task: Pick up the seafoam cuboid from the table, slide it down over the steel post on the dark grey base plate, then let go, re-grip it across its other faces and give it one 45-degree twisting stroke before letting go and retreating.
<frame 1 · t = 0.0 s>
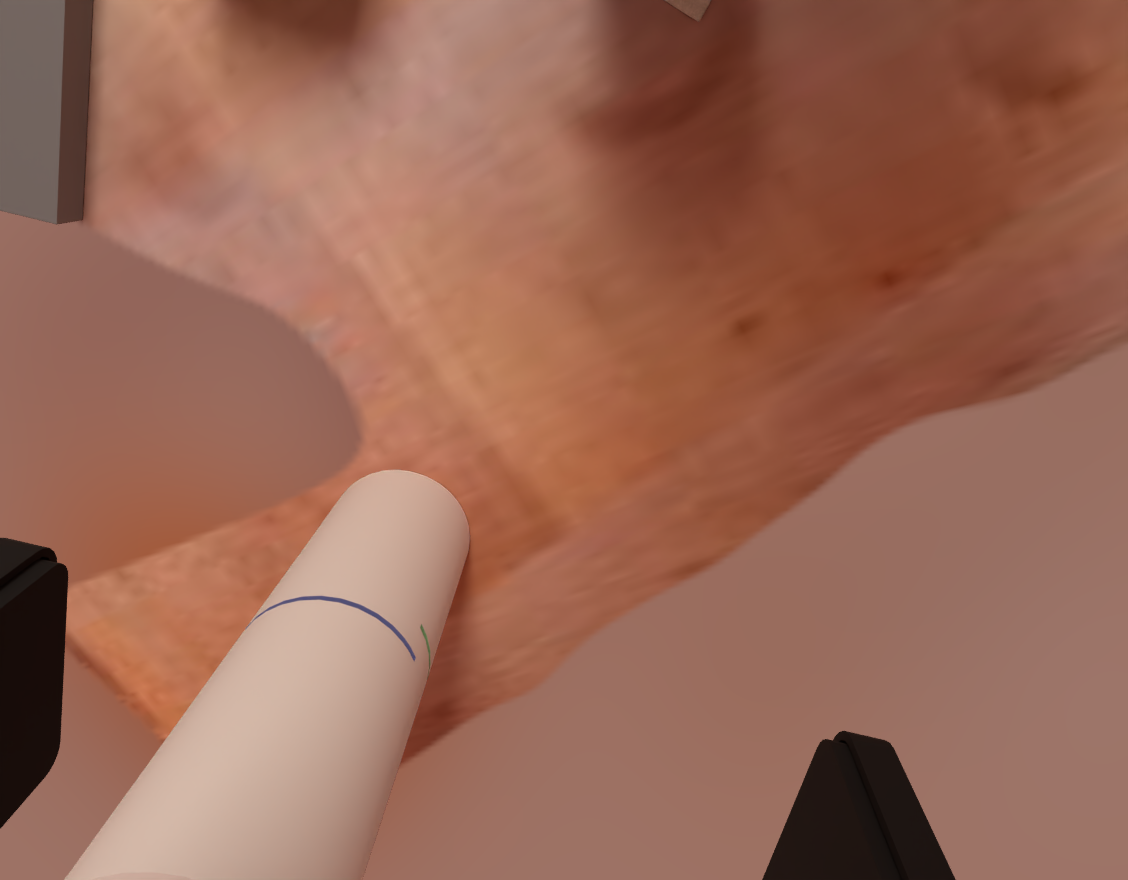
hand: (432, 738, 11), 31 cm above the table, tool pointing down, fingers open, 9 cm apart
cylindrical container: (401, 532, 45), on the table
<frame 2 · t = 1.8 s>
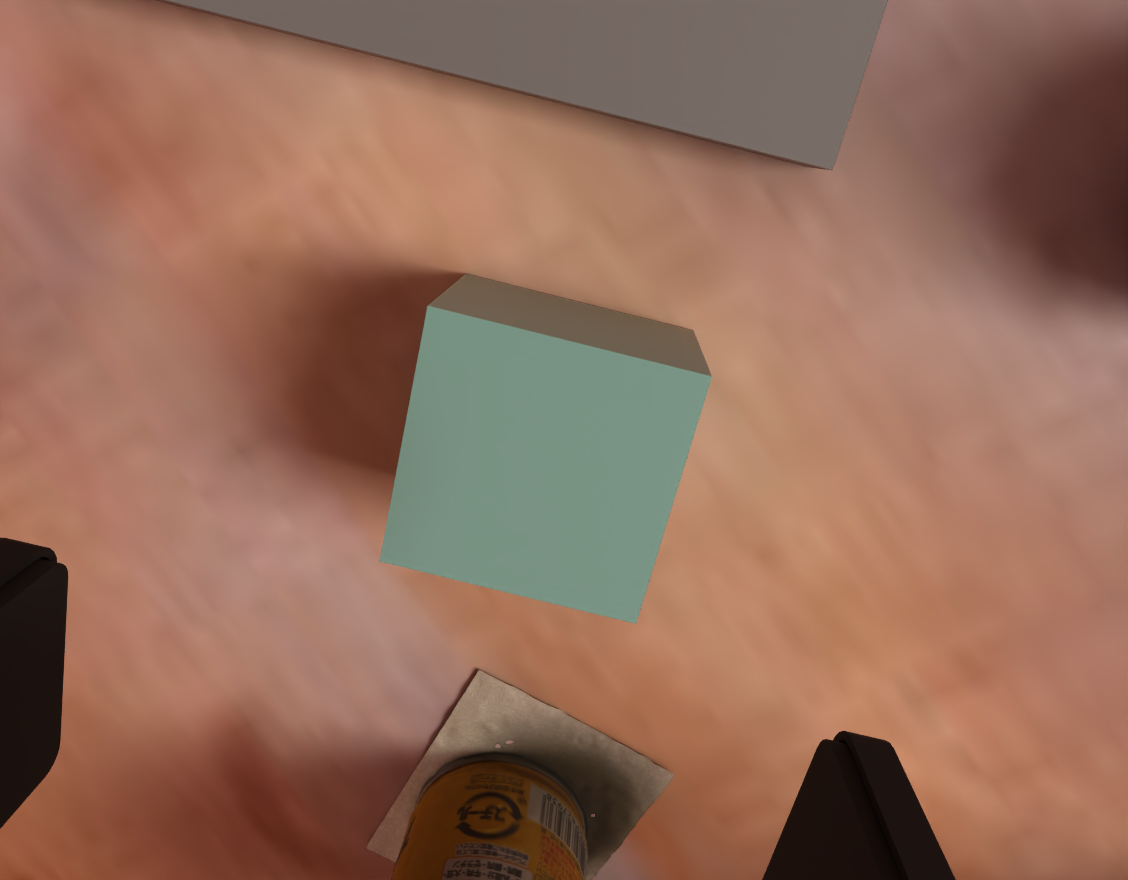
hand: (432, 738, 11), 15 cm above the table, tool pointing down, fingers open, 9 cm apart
seafoam cuboid: (553, 410, 25), on the table
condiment: (516, 802, 30), on the table
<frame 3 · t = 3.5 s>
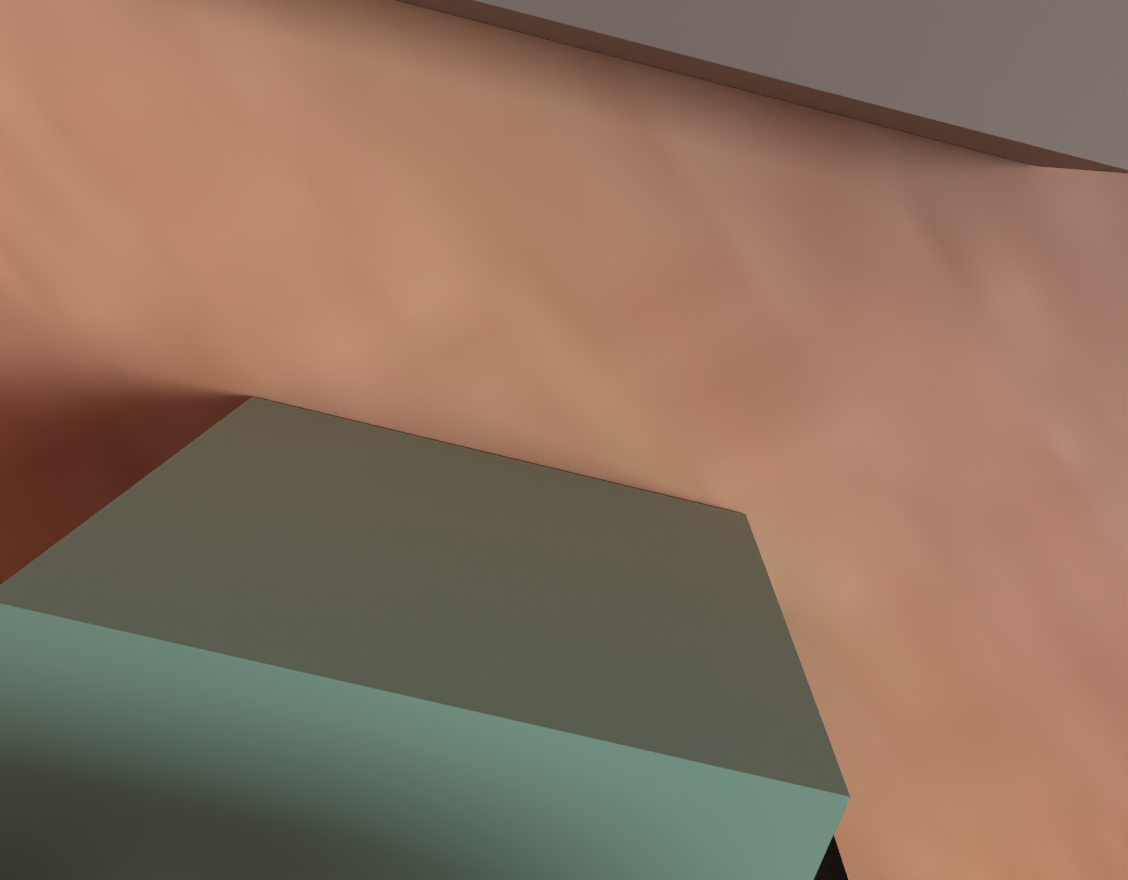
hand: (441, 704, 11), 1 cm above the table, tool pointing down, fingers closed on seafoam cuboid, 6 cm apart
seafoam cuboid: (453, 665, 12), on the table, touching gripper
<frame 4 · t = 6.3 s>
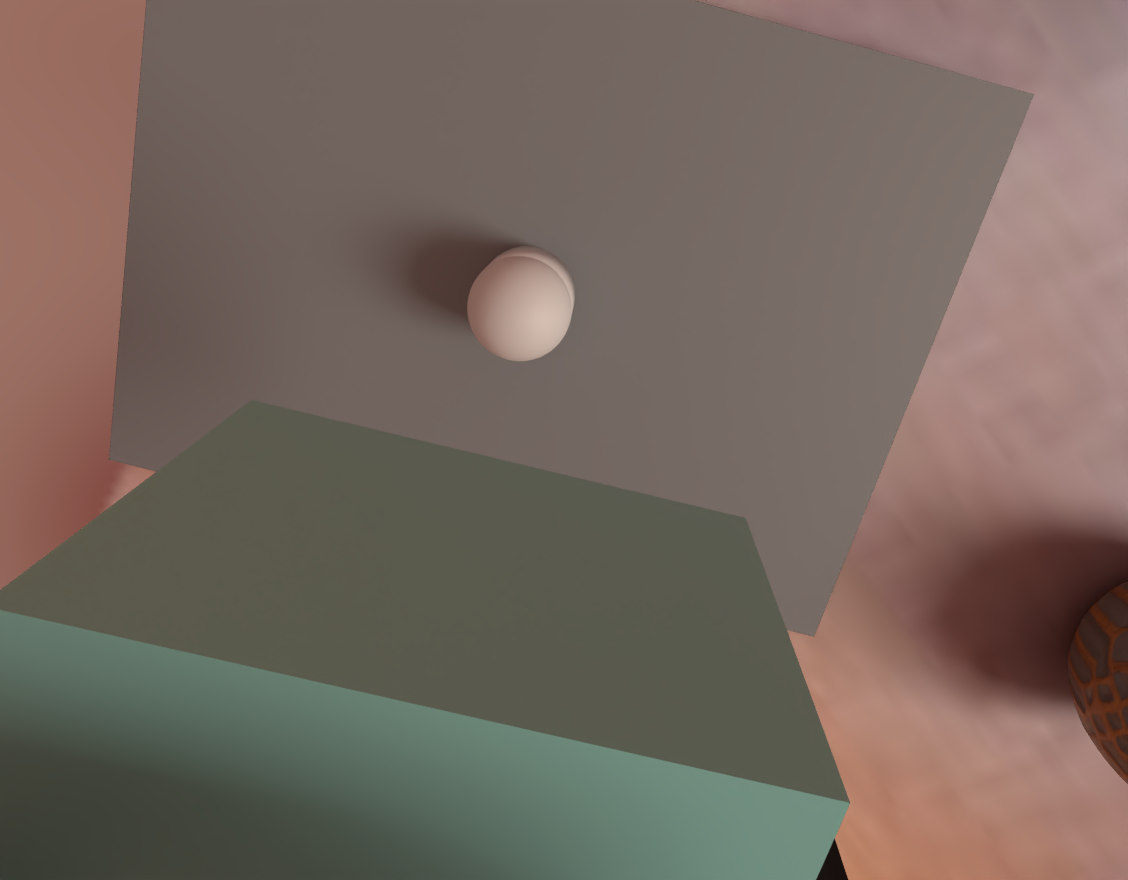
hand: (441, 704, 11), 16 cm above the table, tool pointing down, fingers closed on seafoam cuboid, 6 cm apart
seafoam cuboid: (453, 668, 12), point 15 cm above the table, touching gripper
post base: (533, 282, 26), on the table
when the fingers open (4 cm above the table, at t = 9.2 s): seafoam cuboid stays where it is, resting on post base.
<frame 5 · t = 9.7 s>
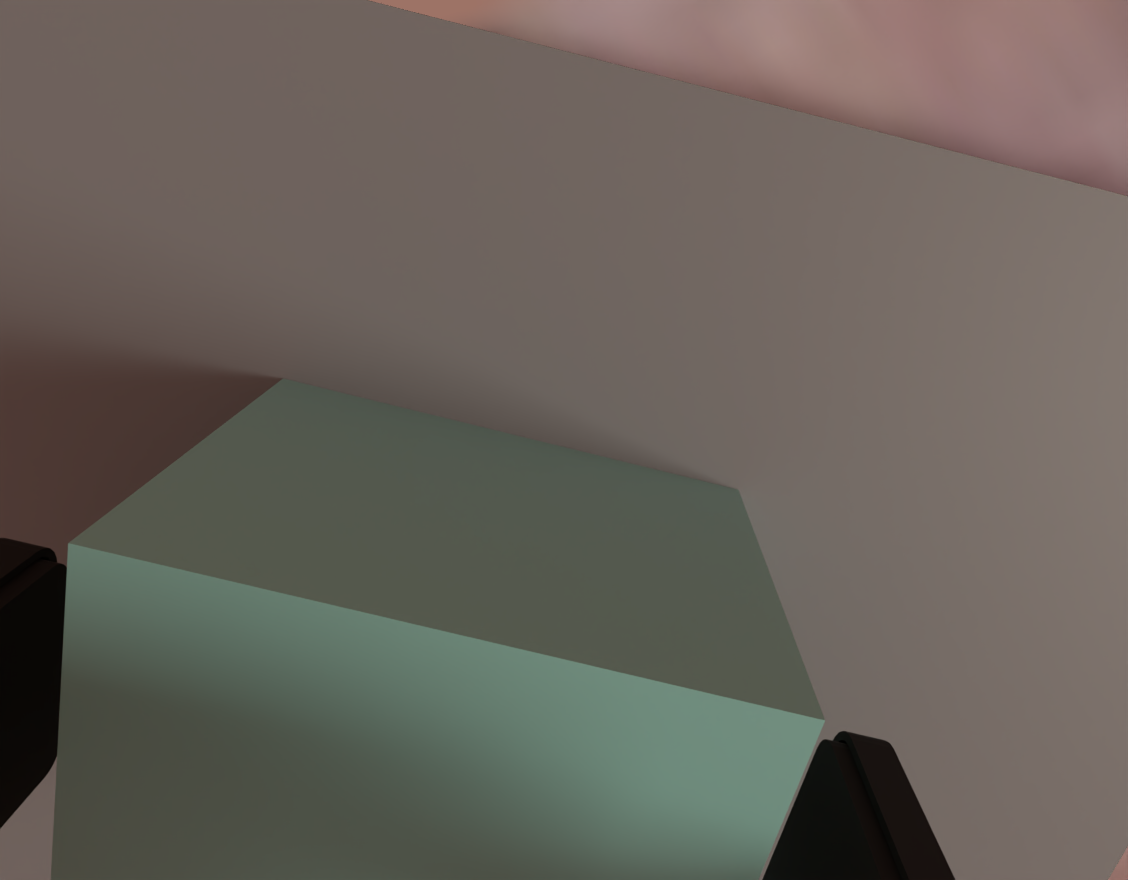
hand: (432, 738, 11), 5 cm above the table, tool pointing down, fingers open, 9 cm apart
seafoam cuboid: (466, 630, 13), point 2 cm above the table, touching post base
post base: (481, 565, 15), on the table
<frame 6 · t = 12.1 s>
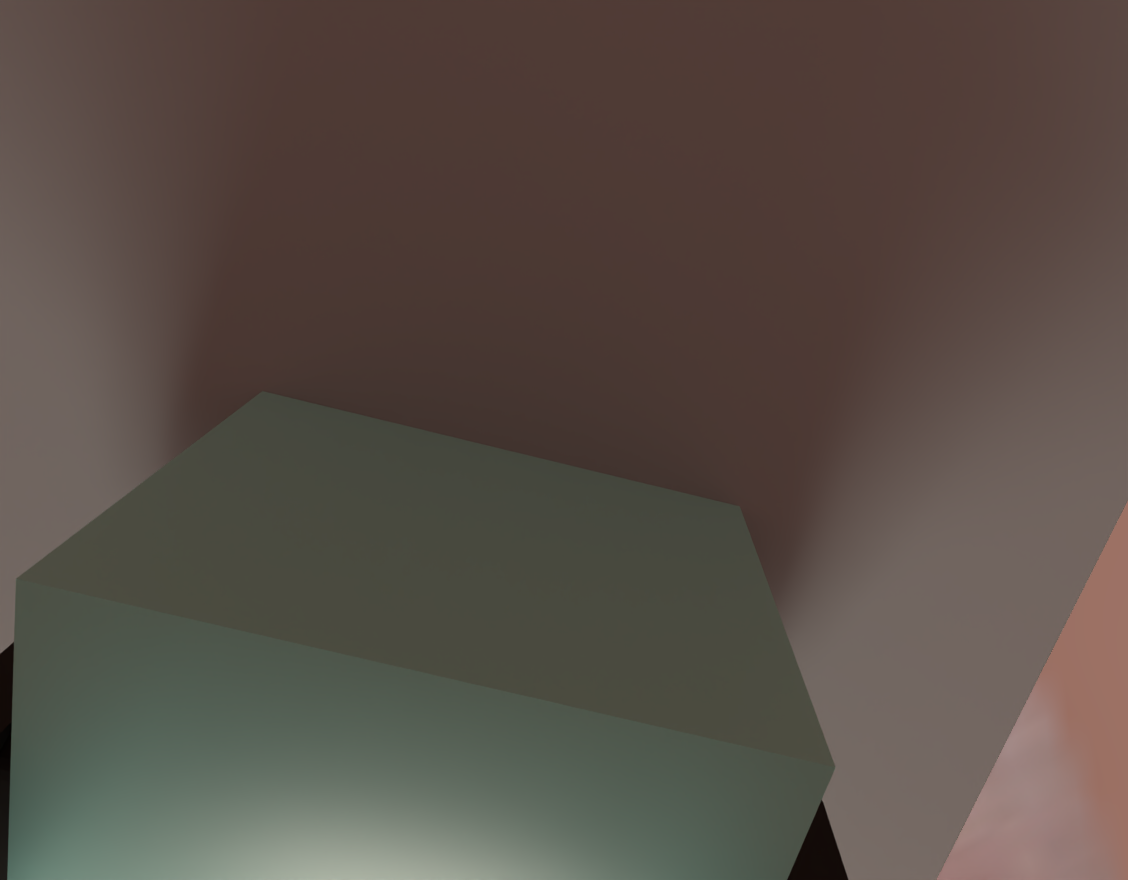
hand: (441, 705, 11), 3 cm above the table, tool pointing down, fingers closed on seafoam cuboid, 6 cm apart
seafoam cuboid: (456, 652, 12), point 2 cm above the table, touching gripper, post base
post base: (476, 581, 14), on the table
when the fingers open (3 cm above the table, at t = 13.3 s): seafoam cuboid stays where it is, resting on post base.
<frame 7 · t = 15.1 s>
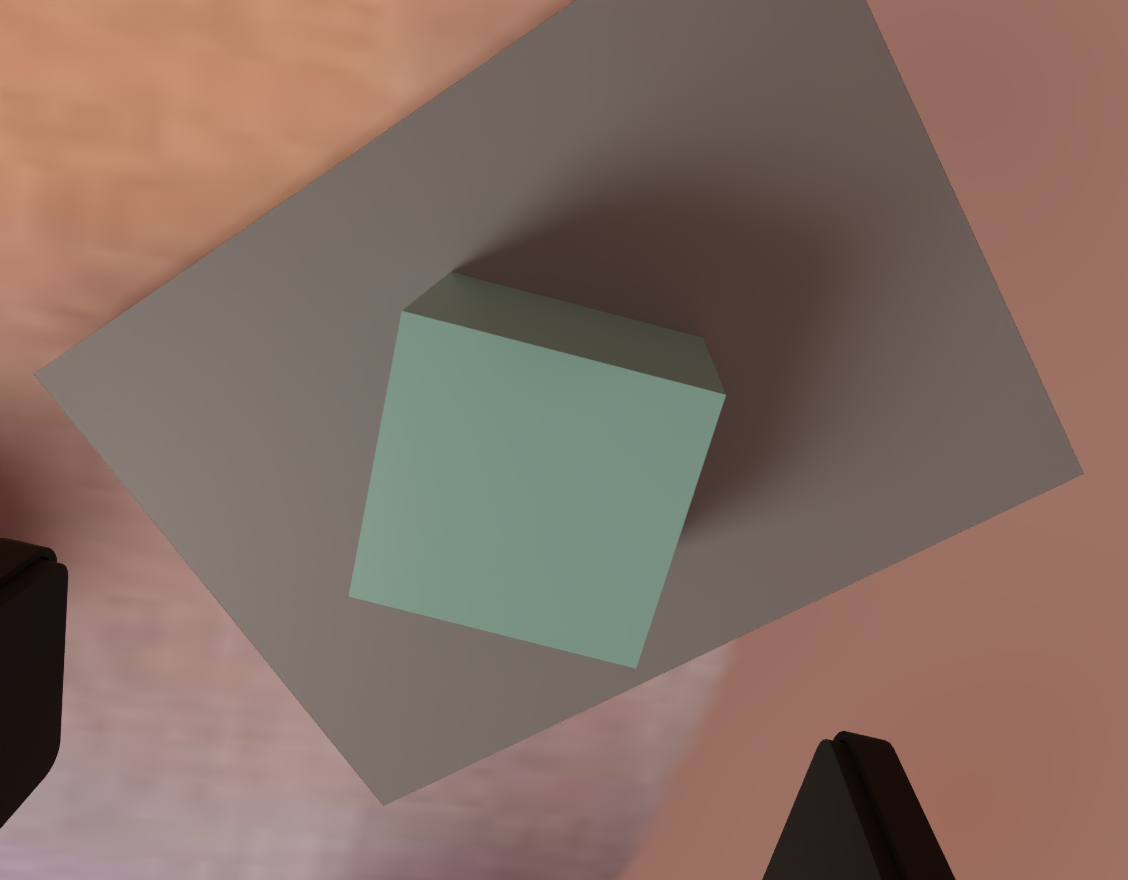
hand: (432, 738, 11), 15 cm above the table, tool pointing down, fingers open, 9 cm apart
seafoam cuboid: (546, 424, 22), point 2 cm above the table, touching post base
post base: (553, 400, 24), on the table
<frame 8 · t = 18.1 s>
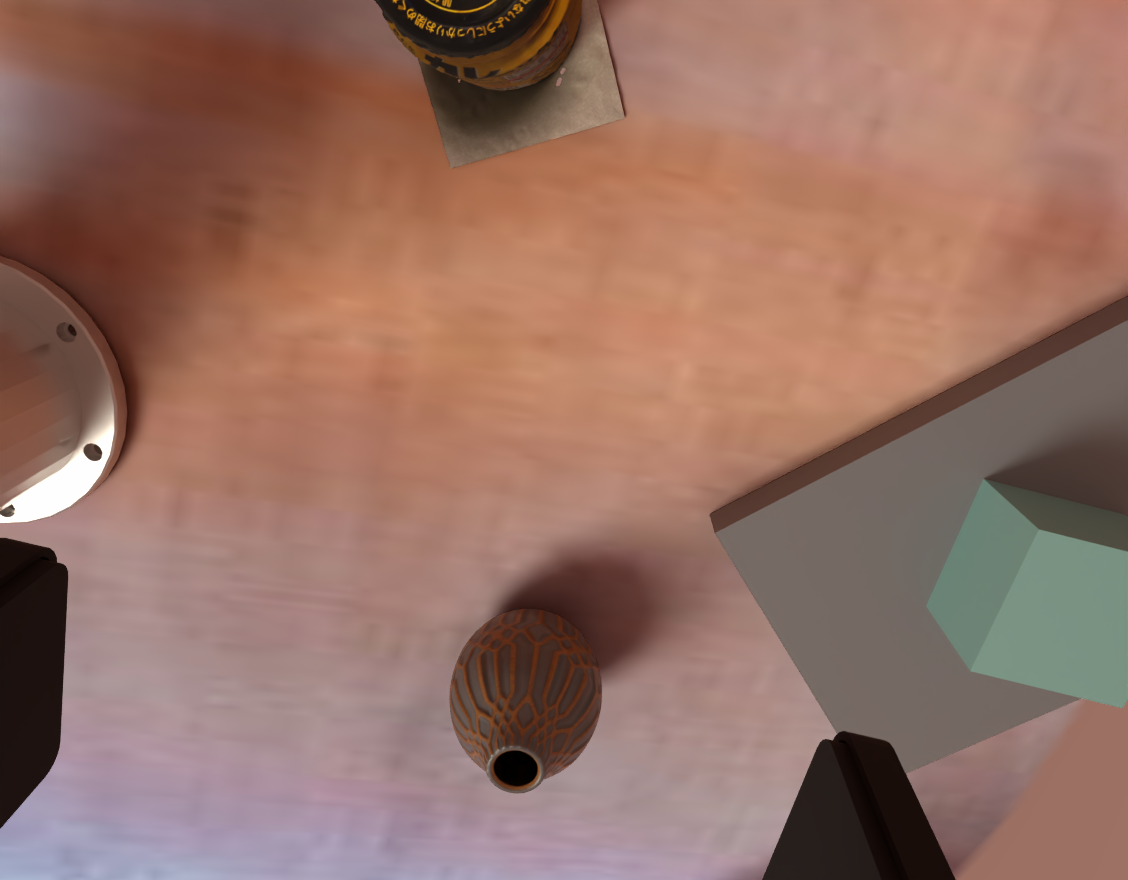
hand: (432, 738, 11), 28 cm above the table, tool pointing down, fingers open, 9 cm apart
seafoam cuboid: (1023, 561, 38), point 2 cm above the table, touching post base
vase: (532, 646, 43), on the table
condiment: (508, 33, 34), on the table
post base: (1004, 540, 40), on the table
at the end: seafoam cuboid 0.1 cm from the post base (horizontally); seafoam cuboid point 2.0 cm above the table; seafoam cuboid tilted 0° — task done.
